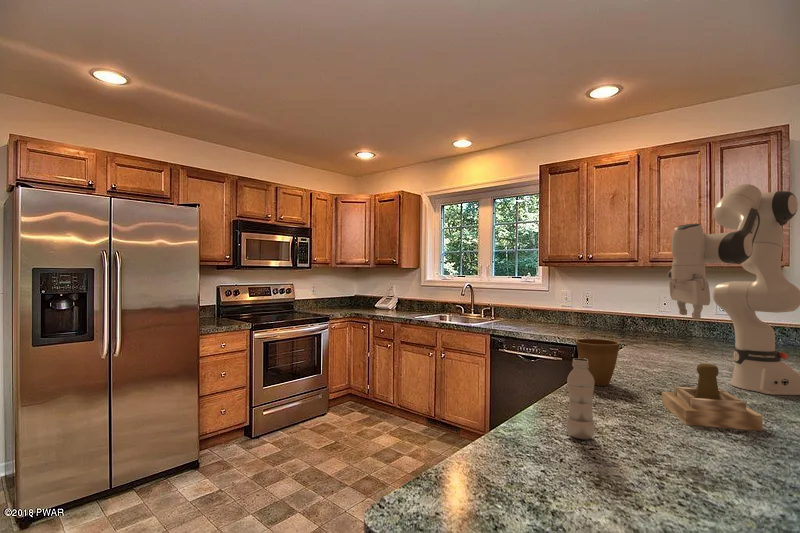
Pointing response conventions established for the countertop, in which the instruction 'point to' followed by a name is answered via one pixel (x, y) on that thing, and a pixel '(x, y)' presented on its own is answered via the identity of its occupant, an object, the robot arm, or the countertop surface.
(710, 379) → the cork
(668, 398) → the display stand
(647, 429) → the countertop surface
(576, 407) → the plastic bottle
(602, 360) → the plant pot
